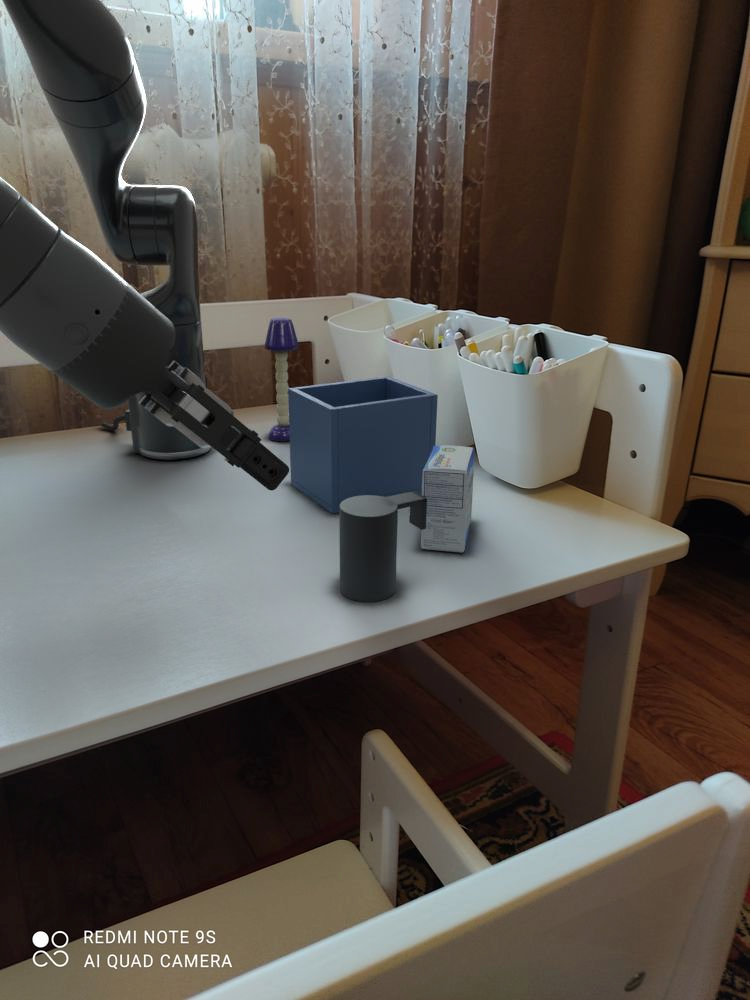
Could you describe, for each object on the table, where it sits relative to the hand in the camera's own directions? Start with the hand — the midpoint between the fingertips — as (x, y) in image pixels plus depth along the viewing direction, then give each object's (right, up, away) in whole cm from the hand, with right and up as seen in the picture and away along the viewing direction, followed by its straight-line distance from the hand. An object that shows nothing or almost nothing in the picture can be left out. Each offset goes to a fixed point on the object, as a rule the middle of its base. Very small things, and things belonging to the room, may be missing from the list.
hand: (257, 462), depth 59 cm
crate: (+7, -1, +33) cm, 34 cm away
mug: (+10, -11, +11) cm, 18 cm away
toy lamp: (-4, +6, +52) cm, 52 cm away
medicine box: (+16, -7, +21) cm, 27 cm away
